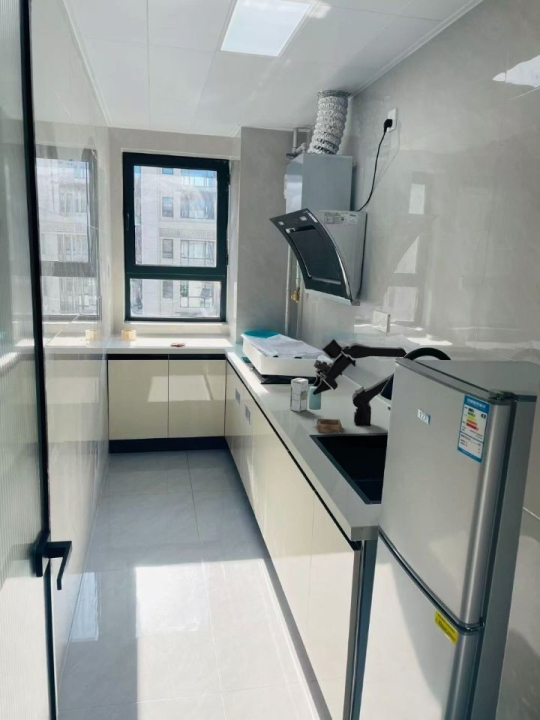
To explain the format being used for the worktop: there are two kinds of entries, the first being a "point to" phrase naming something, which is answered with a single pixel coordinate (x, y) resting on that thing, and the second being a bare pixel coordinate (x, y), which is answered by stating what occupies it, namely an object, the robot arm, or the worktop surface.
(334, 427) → the collar
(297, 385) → the syrup box
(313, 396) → the peg
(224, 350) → the worktop surface
